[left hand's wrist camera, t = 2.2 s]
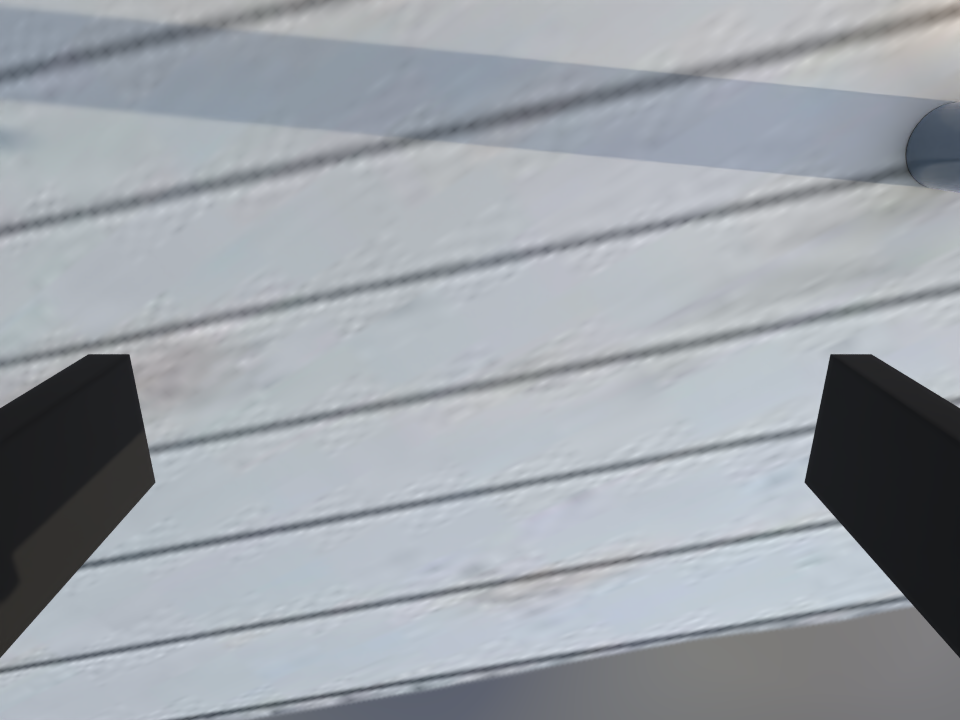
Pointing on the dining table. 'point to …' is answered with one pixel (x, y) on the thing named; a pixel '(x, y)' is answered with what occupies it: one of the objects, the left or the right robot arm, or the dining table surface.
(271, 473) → the dining table surface
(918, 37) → the dining table surface
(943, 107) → the bottle
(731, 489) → the dining table surface
